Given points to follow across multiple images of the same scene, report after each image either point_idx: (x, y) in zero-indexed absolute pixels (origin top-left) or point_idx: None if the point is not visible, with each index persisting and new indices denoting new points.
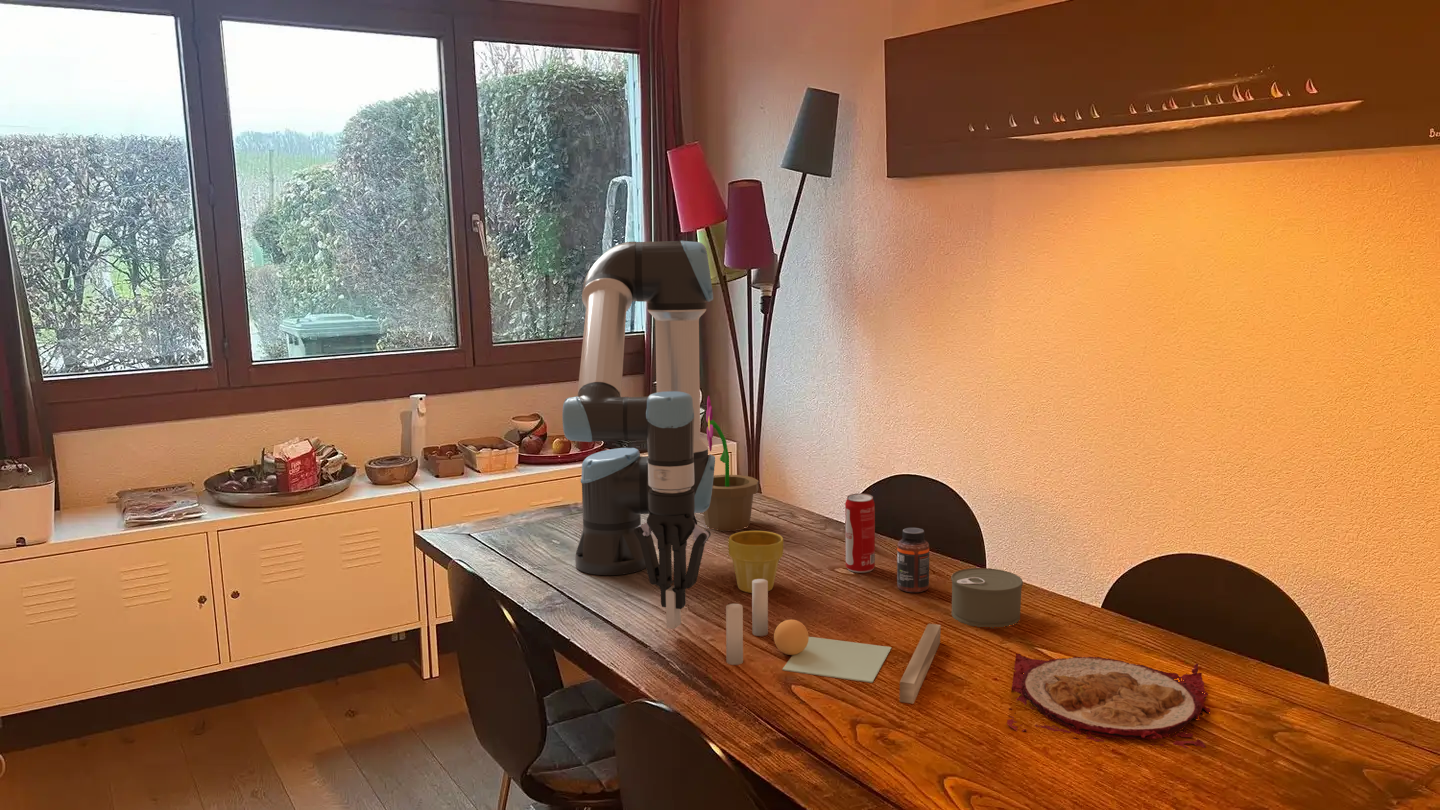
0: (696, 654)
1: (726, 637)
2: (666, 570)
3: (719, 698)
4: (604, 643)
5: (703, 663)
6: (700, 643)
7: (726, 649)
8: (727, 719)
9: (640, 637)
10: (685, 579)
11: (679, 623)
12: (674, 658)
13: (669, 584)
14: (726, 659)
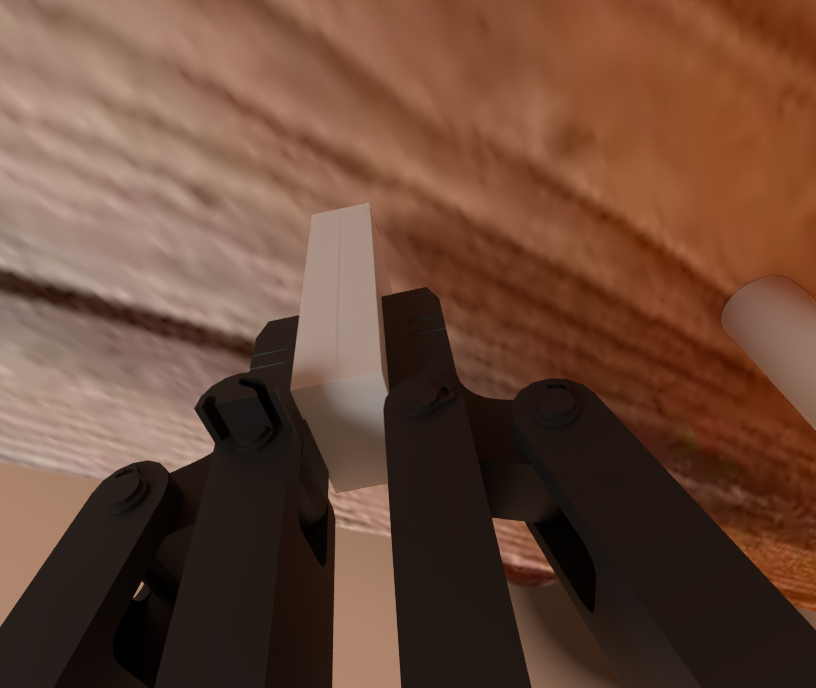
0: (567, 328)
1: (797, 409)
2: (329, 679)
3: (752, 510)
4: (141, 429)
5: (629, 377)
6: (530, 219)
7: (757, 365)
8: (792, 560)
9: (210, 312)
10: (555, 567)
11: (376, 231)
12: (497, 396)
13: (314, 467)
14: (729, 335)
